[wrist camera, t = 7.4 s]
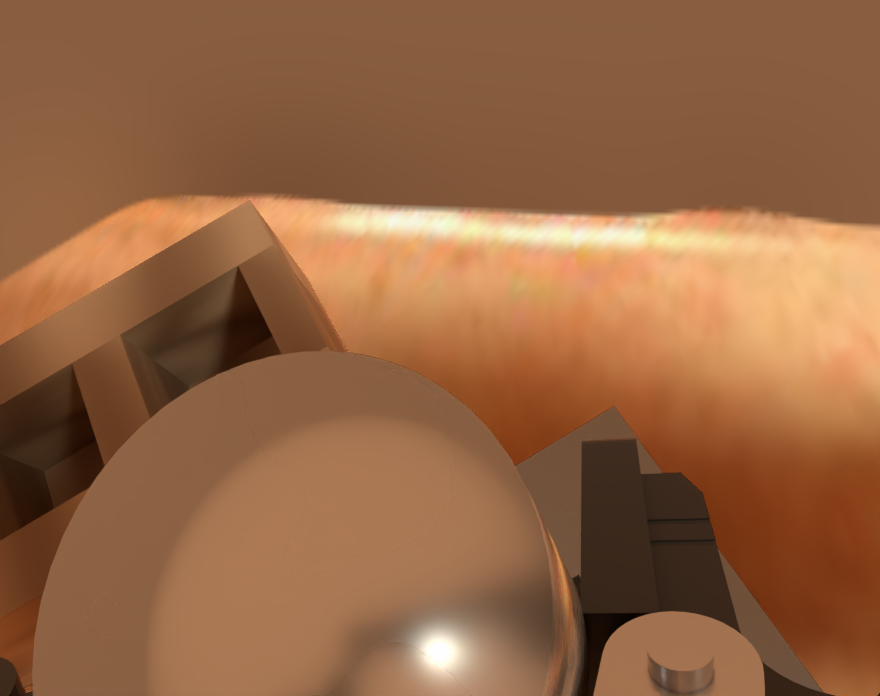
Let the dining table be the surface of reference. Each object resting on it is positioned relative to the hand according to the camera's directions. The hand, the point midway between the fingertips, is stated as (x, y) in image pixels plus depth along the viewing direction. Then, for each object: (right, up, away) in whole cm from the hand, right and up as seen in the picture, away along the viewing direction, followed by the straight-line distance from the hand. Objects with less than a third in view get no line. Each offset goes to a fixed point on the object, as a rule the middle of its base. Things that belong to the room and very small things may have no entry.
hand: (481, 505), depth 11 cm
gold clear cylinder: (+1, -4, +4) cm, 6 cm away
